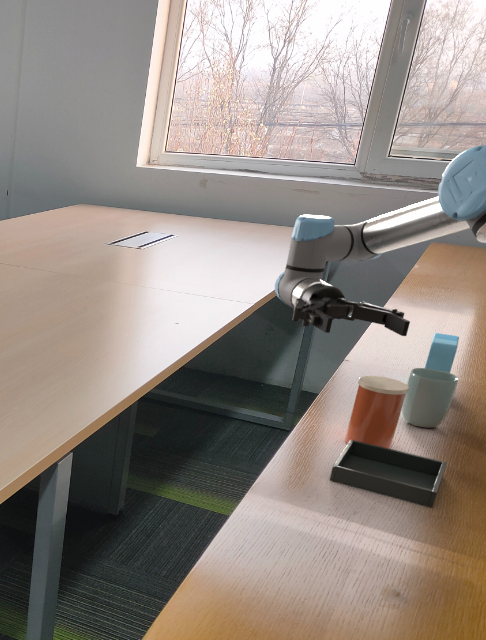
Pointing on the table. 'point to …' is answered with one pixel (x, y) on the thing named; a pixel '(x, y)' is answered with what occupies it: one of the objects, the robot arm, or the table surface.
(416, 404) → the cup
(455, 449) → the table surface
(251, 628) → the table surface
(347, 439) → the orange lidded canister
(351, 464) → the tray
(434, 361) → the blue upright block
